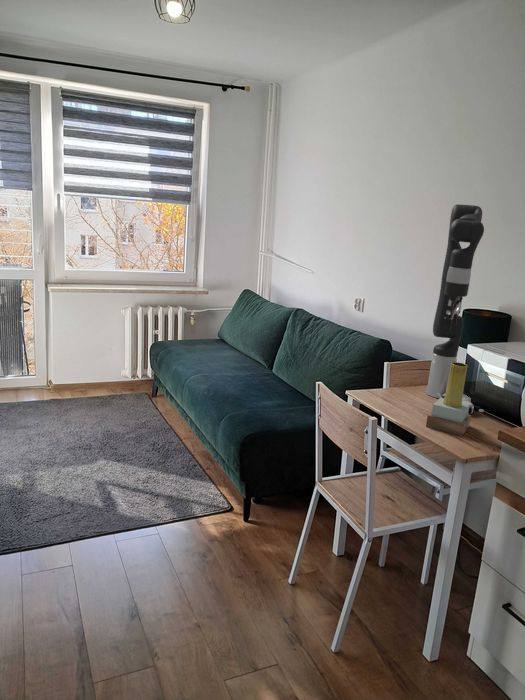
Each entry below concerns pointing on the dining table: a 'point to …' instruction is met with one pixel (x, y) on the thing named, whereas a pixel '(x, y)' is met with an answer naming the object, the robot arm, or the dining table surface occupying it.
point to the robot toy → (468, 401)
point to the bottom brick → (448, 424)
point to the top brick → (450, 411)
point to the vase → (455, 385)
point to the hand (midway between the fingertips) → (449, 327)
